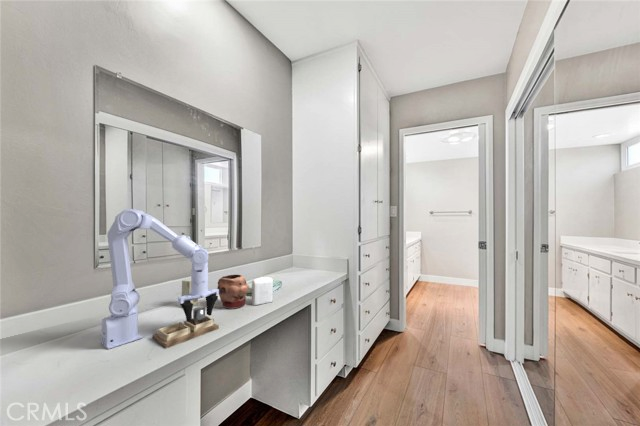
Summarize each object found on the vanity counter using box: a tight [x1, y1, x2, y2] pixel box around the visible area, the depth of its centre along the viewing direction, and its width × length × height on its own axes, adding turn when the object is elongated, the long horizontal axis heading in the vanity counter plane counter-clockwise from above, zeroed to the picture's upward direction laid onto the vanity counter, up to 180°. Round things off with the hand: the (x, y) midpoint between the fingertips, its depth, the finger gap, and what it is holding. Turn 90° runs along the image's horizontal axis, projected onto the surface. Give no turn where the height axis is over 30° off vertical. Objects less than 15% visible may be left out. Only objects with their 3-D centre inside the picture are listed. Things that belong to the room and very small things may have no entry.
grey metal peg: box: [192, 306, 206, 325], centre depth 96 cm, size 4×4×6 cm
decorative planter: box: [216, 274, 249, 309], centre depth 121 cm, size 20×12×14 cm, turn 62°
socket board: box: [151, 315, 220, 349], centre depth 92 cm, size 18×11×3 cm, turn 143°
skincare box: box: [180, 277, 199, 308], centre depth 121 cm, size 6×4×12 cm
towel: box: [245, 279, 283, 297], centre depth 145 cm, size 18×21×5 cm
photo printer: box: [251, 276, 274, 306], centre depth 125 cm, size 10×4×12 cm, turn 126°
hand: (199, 318), depth 96 cm, fingers open, 7 cm apart
